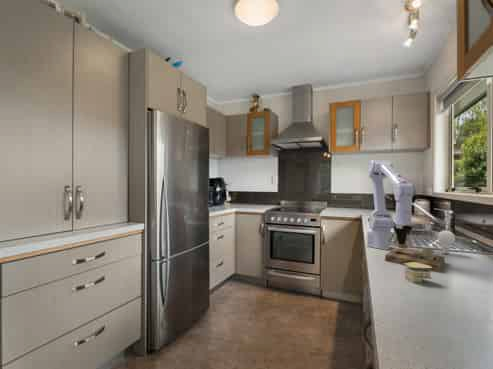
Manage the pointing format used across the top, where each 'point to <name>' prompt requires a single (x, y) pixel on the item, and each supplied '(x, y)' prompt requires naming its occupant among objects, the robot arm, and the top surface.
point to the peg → (428, 254)
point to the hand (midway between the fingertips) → (402, 243)
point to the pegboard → (414, 258)
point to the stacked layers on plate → (417, 272)
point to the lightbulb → (446, 240)
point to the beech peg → (404, 244)
